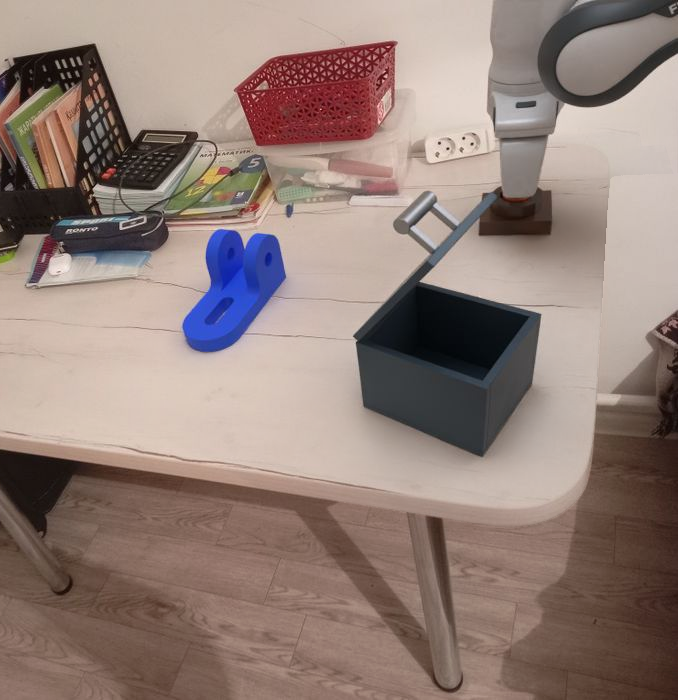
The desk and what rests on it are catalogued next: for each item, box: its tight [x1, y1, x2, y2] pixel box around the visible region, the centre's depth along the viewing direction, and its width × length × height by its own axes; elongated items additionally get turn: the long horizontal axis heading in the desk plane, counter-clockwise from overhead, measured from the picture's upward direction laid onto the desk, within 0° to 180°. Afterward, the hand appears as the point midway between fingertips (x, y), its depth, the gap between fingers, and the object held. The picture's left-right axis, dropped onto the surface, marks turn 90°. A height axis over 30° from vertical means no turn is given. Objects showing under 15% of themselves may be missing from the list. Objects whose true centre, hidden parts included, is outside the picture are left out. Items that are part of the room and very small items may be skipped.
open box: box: [355, 281, 542, 458], centre depth 65 cm, size 14×12×10 cm
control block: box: [478, 185, 553, 236], centre depth 87 cm, size 9×8×4 cm
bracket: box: [181, 228, 287, 353], centre depth 86 cm, size 18×8×9 cm, turn 147°
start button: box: [502, 194, 531, 203], centre depth 86 cm, size 4×4×2 cm
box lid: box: [352, 190, 497, 342], centre depth 60 cm, size 14×12×5 cm
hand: (517, 192), depth 86 cm, fingers closed, pressing on start button
